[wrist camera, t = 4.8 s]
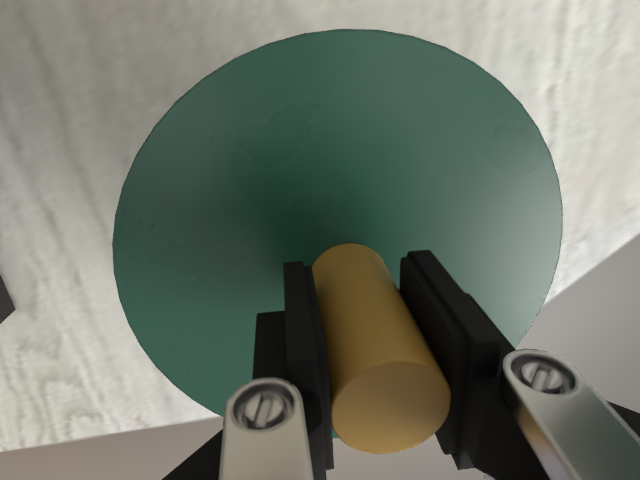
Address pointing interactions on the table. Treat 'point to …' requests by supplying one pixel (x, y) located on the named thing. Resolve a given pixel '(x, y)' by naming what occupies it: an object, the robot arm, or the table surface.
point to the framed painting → (5, 302)
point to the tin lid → (335, 218)
